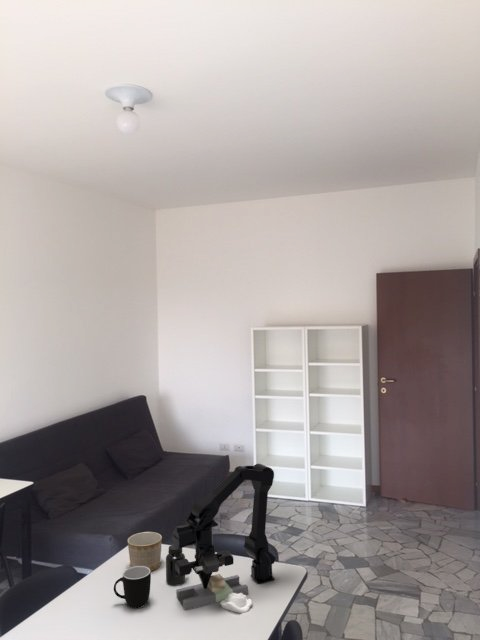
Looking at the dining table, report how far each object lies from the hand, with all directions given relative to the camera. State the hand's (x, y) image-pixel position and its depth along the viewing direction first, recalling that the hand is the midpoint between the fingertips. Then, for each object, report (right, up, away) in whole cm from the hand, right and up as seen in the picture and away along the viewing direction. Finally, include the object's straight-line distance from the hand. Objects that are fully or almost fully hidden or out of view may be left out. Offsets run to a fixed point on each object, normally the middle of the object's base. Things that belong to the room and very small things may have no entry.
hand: (205, 588), depth 175 cm
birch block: (+4, 0, +1) cm, 4 cm away
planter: (-24, -4, +23) cm, 34 cm away
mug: (-23, -4, -3) cm, 24 cm away
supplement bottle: (-11, -4, +11) cm, 16 cm away
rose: (+10, -3, -6) cm, 12 cm away
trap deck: (+2, -3, +1) cm, 4 cm away
